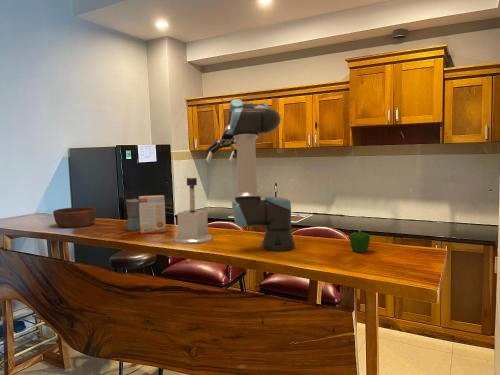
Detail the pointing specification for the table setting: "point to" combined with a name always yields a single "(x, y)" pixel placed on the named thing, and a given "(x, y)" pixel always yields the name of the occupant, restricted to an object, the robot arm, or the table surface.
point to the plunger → (192, 192)
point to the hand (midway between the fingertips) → (218, 161)
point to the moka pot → (132, 214)
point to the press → (192, 228)
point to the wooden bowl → (75, 217)
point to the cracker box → (152, 214)
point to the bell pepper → (359, 241)
